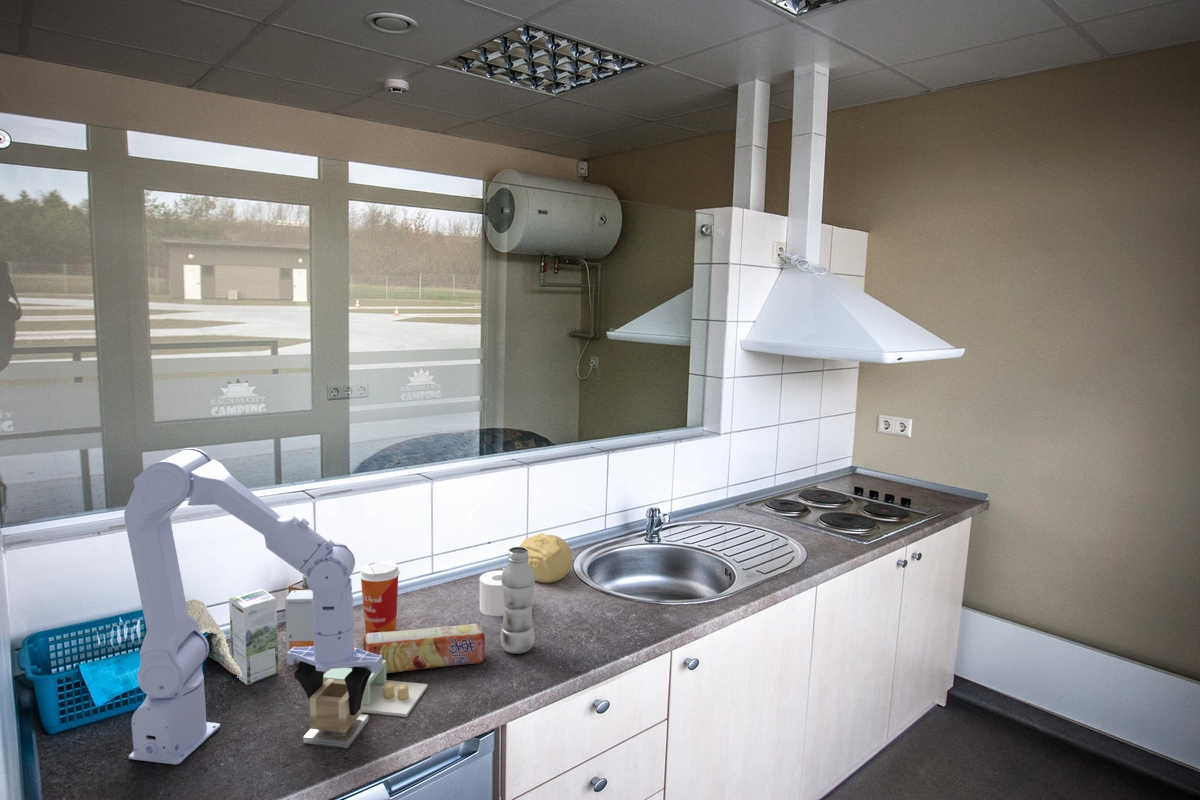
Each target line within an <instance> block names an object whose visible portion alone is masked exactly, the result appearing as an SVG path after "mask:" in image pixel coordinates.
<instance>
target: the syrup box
mask: <svg viewBox="0 0 1200 800" xmlns="http://www.w3.org/2000/svg"><path fill="white" fill-rule="evenodd" d="M228 600H229V601H228V603H229V605H228V606H229V621H230V622H229V625H230V627H229V629H230V646H231V647H230V648H231V649H230V650H231V659H232V658H233V659H234V661H235V662H236V663H237V665H238V666H239V667H240V670H241V672H242V676H241V677H238V676H237V677H236V678H237V679H238V678H239V680H240V681H241V682H242V683H244V684H245V685H246V686H250V685H252V684H254V683H257V682H259V681H262V680H264V679H267V678H269V677H272V676H275V675H277V674H279V673H280V670H279V669H280V668H279V638H278V635H279V634H278V605H277V598H276V597H275V596H273V595H272V594H271V593H269V592H268V591H266V590H264V589H261V588H259V589H256V590H254V591H250V592H247V593H244V594H241V595H238V596H233V597H231V598H229V599H228Z"/></svg>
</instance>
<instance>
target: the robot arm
mask: <svg viewBox="0 0 1200 800" xmlns="http://www.w3.org/2000/svg"><path fill="white" fill-rule="evenodd" d="M133 484H134V488H133V490H132V493H131V495H130V496H129V500H128V502H127V504H126V507H125V509H124V512H123V515H124V516H123V518H124V523H125V528H126V532H127V536H128V543H129V547H130V548H129V549H130V552H131V556H132V557H131V558H132V563H133V568H134V571H135V572H134V573H135V577H136V578H135V579H136V581H137V582H136V583H137V588H138V592H139V593H138V594H139V598H140V602H141V606H142V607H141V609H142V613H143V617H144V618H143V619H144V623H145V627H146V631H145V636H144V637H143V638H144V639H143V640H142V645H141V648H140V650H139V657H140V666H139V669H138V671H137V677H136V678H137V684H138V686H139V688H140V690H141V691H142V692H143V693H145V694H146V695H145V696H146V697H145V699H144V700H143V702H142V704H141V705H139V707H138V708H137V709H136V710H135V711H134V713H133V714H132V717H131V735H132V744H133V745H132V746H133V747H132V748H133V751H132V752H131V753H130V754H129V755H128V759H130V760H136V761H144V762H152V763H161V764H168V765H170V764H171V765H179V764H181V763H182V762H183V761H184V760H186V758H187V757H189V755H191V754H192V753H193V752H194V751H195V750H196V749H197V748H199V746H201V745H202V744H203V743H204V742H205V741H206V740H207V739H208V738H209V737H210V736H212V735H213V734H214V733H215V732H216V731H218V729H220V728H221V723H218V722H217V723H216V722H211V721H210V722H209V721H207V712H206V708H207V707H206V698H205V695H206V693H205V679H204V678H205V677H204V673H203V668H202V667H203V666H202V663H203V662H204V661H205V660H206V659H207V657H208V654H209V651H210V647H209V646H210V644H209V642H208V640H207V637H205V635H204V634H203V633H202V632H201V630H200V626H199V622H198V620H197V619H195V618H193V617H191V616H189V613H188V611H189V610H188V608H187V607H188V606H187V601H186V596H185V591H184V584H183V581H182V576H181V575H182V574H181V570H180V564H179V559H178V553H177V548H176V541H175V538H174V537H175V536H174V532H173V529H172V522H171V516H172V515H173V513H174V512H175V511H176V510H177V509H178V508H179V507H180V506H181V504H182V503H184V501H185V500H186V499H187V498H189V500H188V502H187V506H189V507H191V506H192V507H194V506H195V507H196V506H210V505H211V506H213V505H215V506H218V507H219V508H221V509H222V510H223V511H225V512H227V513H228V514H229V515H232V516H233V517H235V518H237V519H238V520H240V521H241V522H243V523H244V524H245V525H248V527H251V528H252V529H253V530H255V531H256V532H258V533H260V534H261V535H263V536H264V537H263V538H264V543H265V547H266V549H268V550H269V551H270V552H272V553H273V554H274V555H276V556H277V557H278V558H280V559H281V560H283V562H285V563H286V564H288V565H289V566H291V567H292V568H293V569H295V570H296V571H298V572H299V573H300V574H302V575H304V576H306V577H305V583H306V585H307V587H308V588H309V590H311V591H312V592H313V601H312V605H313V632H314V646H312V647H293V648H292V649H291V650H290V651H288V652H287V651H286V664H287V665H290V666H293V665H295V664H298V667H297V669H296V670H295V671H294V678H295V680H296V681H297V682H298V683H299V684H300V686H301V687H302V689H303V690H304V692H305V694H306V697H307V699H308V703H310V697H311V696H312V695H313V694H314V693H315V692H316V691H317V690H318V689H319V688H320V687H321V686H322V685H323V676H324V674H325V673H326V672H327V671H329V670H330V669H335V668H352V671H351V672H350V673H349V674H348V675H347V676H346V677H345V683H346V685H347V689H348V694H349V710H350V715H353V716H354V715H356V714H357V712H358V711H359V710H360V709H361V702H362V698H363V694H364V690H365V687H366V684H367V682H368V679H369V677H370V675H371V673H378V672H379V671H380V669H381V668H382V667H383V658H382V655H377V654H373V653H370V652H367V651H364V649H360V648H357V647H355V630H354V626H355V625H354V598H353V597H354V596H353V592H352V590H353V586H352V578H350V577H351V576H352V574H353V572H354V569H355V566H356V558H355V555H354V554H353V552H352V551H351V549H349V548H348V546H347V545H346V544H343V543H338V542H334V541H333V540H331V539H329V540H327V539H325V537H323V536H322V535H321V534H319V533H318V532H316V531H315V530H313V528H311V527H309V524H310V521H308V520H307V519H306V518H304V517H302V518H301V519H299V518H297V517H296V516H294V515H291V516H290V515H289V516H288V515H287V516H281V515H280V514H278V513H277V512H276V511H274V510H273V509H272V508H271V507H270V506H268V504H266V503H265V502H264V501H263V500H261V498H259V497H258V496H256V495H255V494H254V493H253V492H252V491H251V490H250V489H248V488H247V487H245V485H244V484H242V482H240V481H238V479H236V478H235V476H233V475H232V474H231V473H230V472H229V470H227V468H226V467H225V466H224V464H223V463H222V462H220V461H218V460H216V459H212V458H211V456H210V455H209V454H208V453H207V452H206V451H204V450H202V449H199V448H195V447H187V448H182V449H179V450H178V451H177V452H175V453H174V454H172V455H170V456H168V457H166V458H164V459H162V460H160V461H157V462H153V463H151V464H150V465H149V466H147V467H146V468H145V469H144V470H143V471H142V472H141V473H140V474H139V475H137V476H136V477H135V478H134V479H133Z"/></svg>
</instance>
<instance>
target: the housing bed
mask: <svg viewBox="0 0 1200 800" xmlns="http://www.w3.org/2000/svg"><path fill="white" fill-rule="evenodd" d="M427 688H428V683H419V682H407V681H400V680H399V681H398V680H397V681H396V680H390V679H388V680H387V679H386V683H385V684H377V683H370V703H369V704H362V707H363V712H362V713H367V714H373V715H374V714H375V715H376V714H377V715H384V716H393V717H394V716H395V717H404V718H407V717H408V716H409V714H410V713H411V711H412V710H413V709H414V707H415V705H416V704H417V703H418V701H419V700H420V698H421V697H423V696H422V695H423V694H424V693H425V692H426V690H427Z"/></svg>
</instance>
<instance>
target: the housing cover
mask: <svg viewBox="0 0 1200 800" xmlns="http://www.w3.org/2000/svg"><path fill="white" fill-rule="evenodd" d="M351 671H352V668H335V669H330V670H329V671H327V672H324V676H323V684H324V683H325V682H326V681H327V680H328V679H335V680H345V677H346V676H347V675H348V674H349V673H350V672H351ZM386 680H387V673H386V660H383V667H382V668H381V669H380V671H379V672H378V673H371V675H370V677H369V679H368V682H367V684H366V687H365V690H364V694H363V698H362V704H369V703H370V683H377V684H385V683H386Z"/></svg>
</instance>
